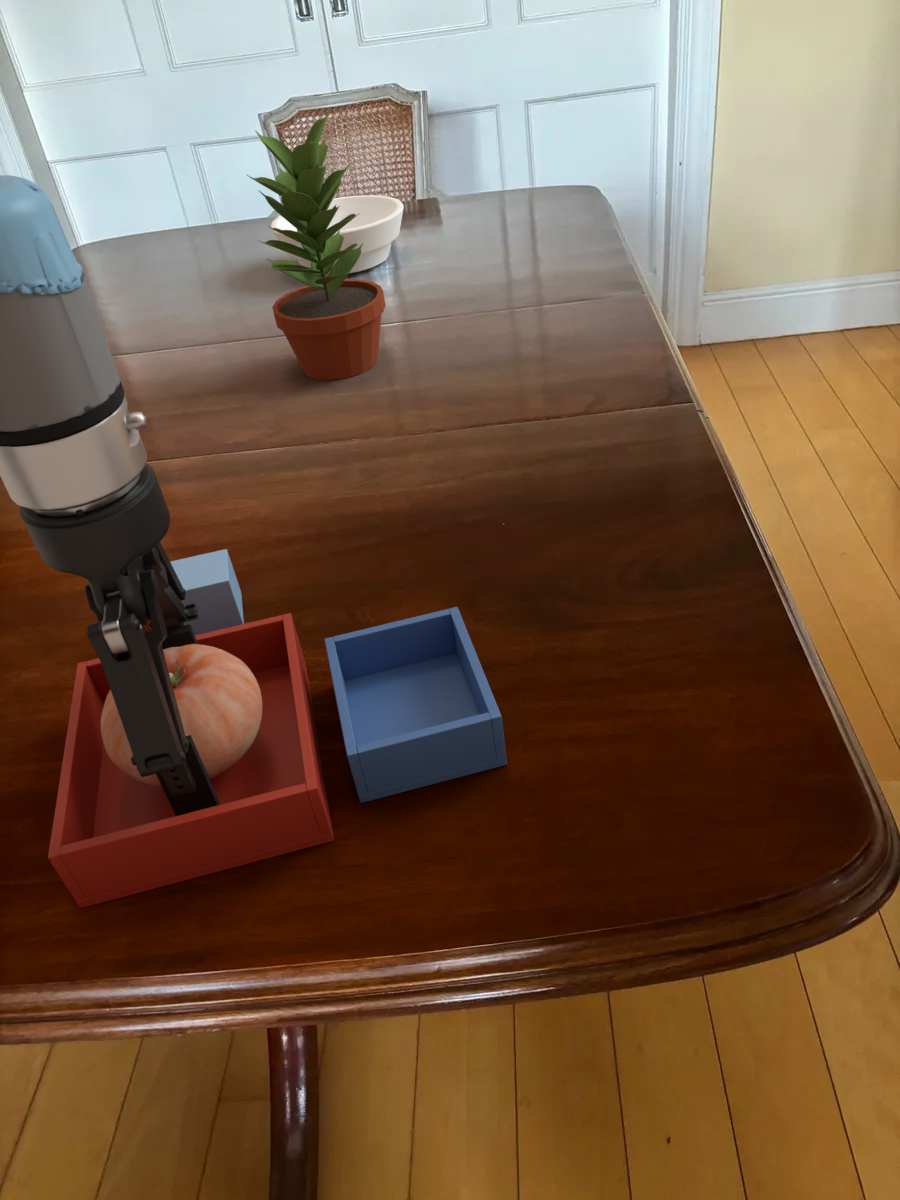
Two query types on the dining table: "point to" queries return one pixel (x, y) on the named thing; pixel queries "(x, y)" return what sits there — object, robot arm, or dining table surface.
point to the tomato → (199, 709)
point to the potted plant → (321, 268)
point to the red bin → (245, 791)
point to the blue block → (211, 591)
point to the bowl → (358, 228)
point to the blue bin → (414, 704)
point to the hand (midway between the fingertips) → (198, 750)
